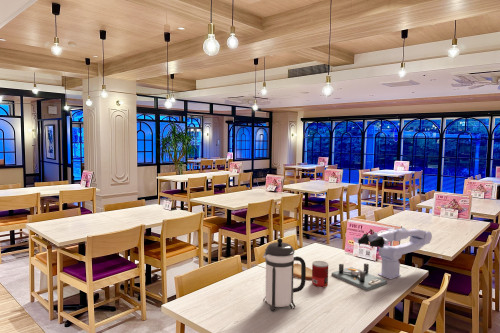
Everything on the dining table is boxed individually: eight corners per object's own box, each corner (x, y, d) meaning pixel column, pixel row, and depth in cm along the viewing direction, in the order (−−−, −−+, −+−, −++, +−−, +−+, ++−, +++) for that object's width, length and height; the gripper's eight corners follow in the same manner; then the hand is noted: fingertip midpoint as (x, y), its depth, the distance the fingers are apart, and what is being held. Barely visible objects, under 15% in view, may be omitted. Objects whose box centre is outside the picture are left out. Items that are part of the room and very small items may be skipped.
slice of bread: (320, 280, 181) (320, 274, 180) (286, 280, 181) (286, 273, 181) (315, 268, 198) (315, 262, 198) (283, 267, 199) (284, 261, 199)
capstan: (368, 271, 188) (368, 263, 188) (364, 282, 174) (364, 274, 173) (341, 267, 195) (342, 259, 194) (335, 277, 180) (335, 269, 180)
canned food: (328, 288, 171) (328, 266, 170) (311, 286, 172) (312, 265, 172) (327, 282, 178) (328, 261, 177) (312, 280, 180) (312, 260, 179)
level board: (351, 269, 196) (351, 263, 196) (387, 283, 177) (387, 276, 177) (331, 275, 187) (331, 268, 187) (367, 290, 168) (367, 283, 168)
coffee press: (289, 317, 142) (290, 245, 140) (255, 307, 150) (256, 239, 148) (305, 301, 157) (307, 236, 155) (274, 292, 165) (275, 231, 163)
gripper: (370, 228, 189) (353, 233, 182) (393, 232, 177) (375, 237, 170) (371, 241, 189) (354, 246, 182) (394, 246, 177) (376, 251, 170)
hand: (364, 243), depth 176 cm, fingers open, 7 cm apart
